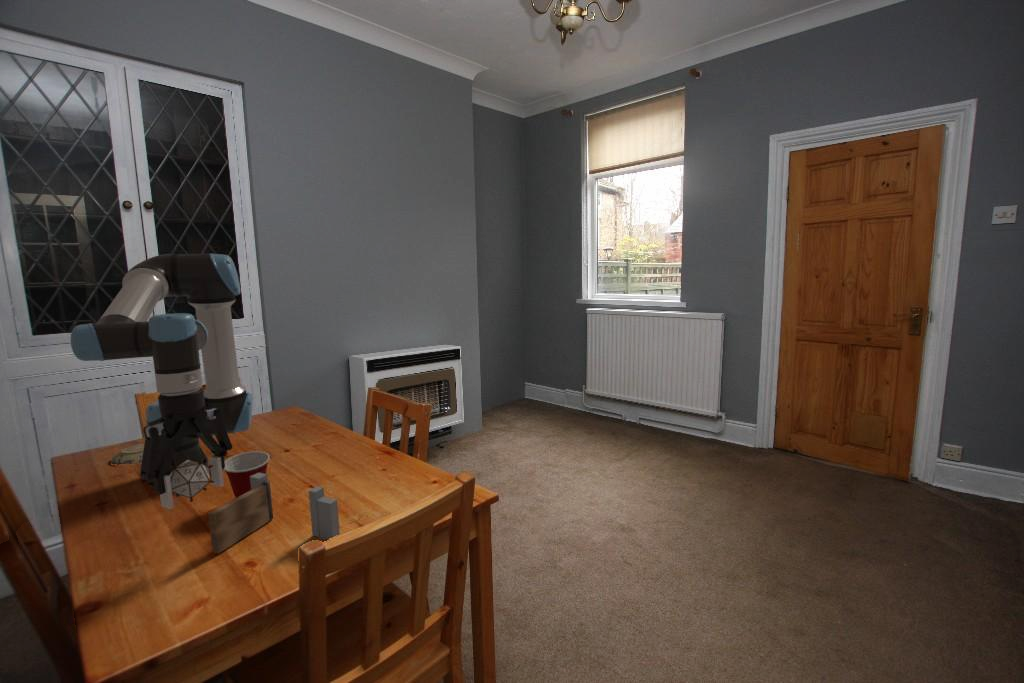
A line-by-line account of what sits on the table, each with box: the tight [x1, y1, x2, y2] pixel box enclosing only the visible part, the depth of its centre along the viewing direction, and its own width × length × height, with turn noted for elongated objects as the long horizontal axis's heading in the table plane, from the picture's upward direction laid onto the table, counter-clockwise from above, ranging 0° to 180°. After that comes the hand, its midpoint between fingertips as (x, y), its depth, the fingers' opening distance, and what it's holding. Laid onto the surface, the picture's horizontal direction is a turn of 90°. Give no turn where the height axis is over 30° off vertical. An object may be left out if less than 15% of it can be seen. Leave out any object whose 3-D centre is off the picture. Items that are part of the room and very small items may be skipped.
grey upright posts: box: [250, 473, 341, 540], centre depth 109 cm, size 25×2×11 cm, turn 66°
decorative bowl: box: [110, 442, 145, 465], centre depth 152 cm, size 15×4×15 cm
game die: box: [166, 456, 214, 503], centre depth 96 cm, size 9×8×10 cm
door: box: [207, 480, 274, 555], centre depth 106 cm, size 15×3×9 cm, turn 162°
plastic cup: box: [222, 450, 271, 499], centre depth 121 cm, size 11×11×12 cm
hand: (194, 495), depth 97 cm, fingers closed on game die, 9 cm apart
